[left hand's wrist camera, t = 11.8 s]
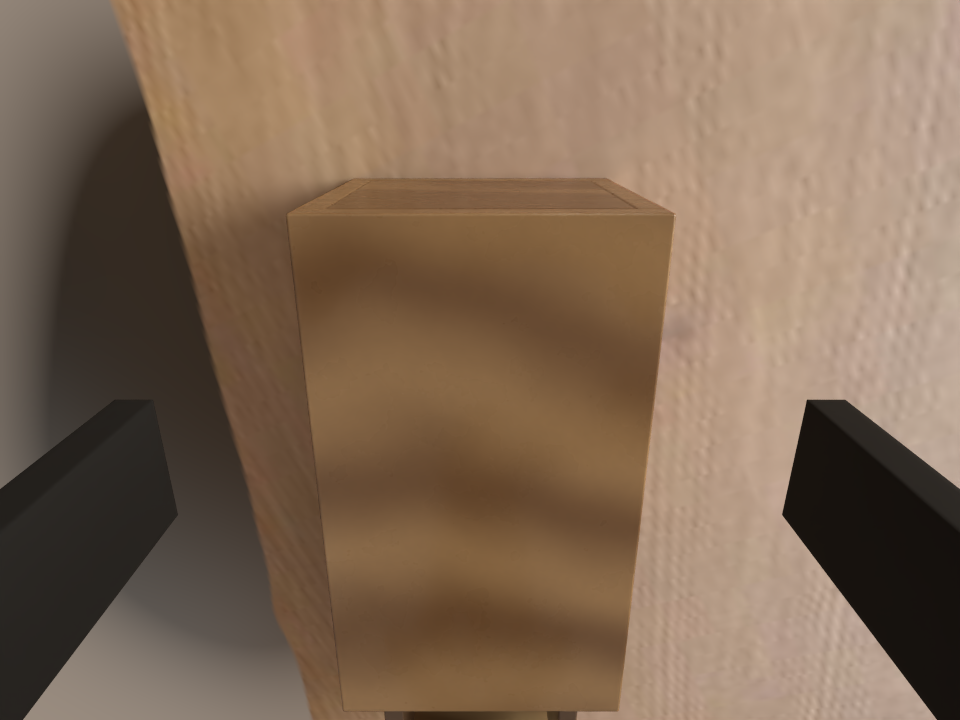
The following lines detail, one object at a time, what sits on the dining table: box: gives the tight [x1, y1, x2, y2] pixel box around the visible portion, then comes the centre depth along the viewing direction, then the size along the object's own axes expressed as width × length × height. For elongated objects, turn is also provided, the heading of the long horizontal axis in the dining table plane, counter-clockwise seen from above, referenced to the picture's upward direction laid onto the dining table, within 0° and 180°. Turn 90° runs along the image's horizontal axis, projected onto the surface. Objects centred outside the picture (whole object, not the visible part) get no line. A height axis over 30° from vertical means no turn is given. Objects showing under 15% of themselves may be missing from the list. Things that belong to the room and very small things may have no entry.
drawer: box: [384, 711, 577, 720], centre depth 30 cm, size 24×10×8 cm, turn 0°
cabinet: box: [286, 178, 676, 711], centre depth 25 cm, size 19×11×10 cm, turn 0°
